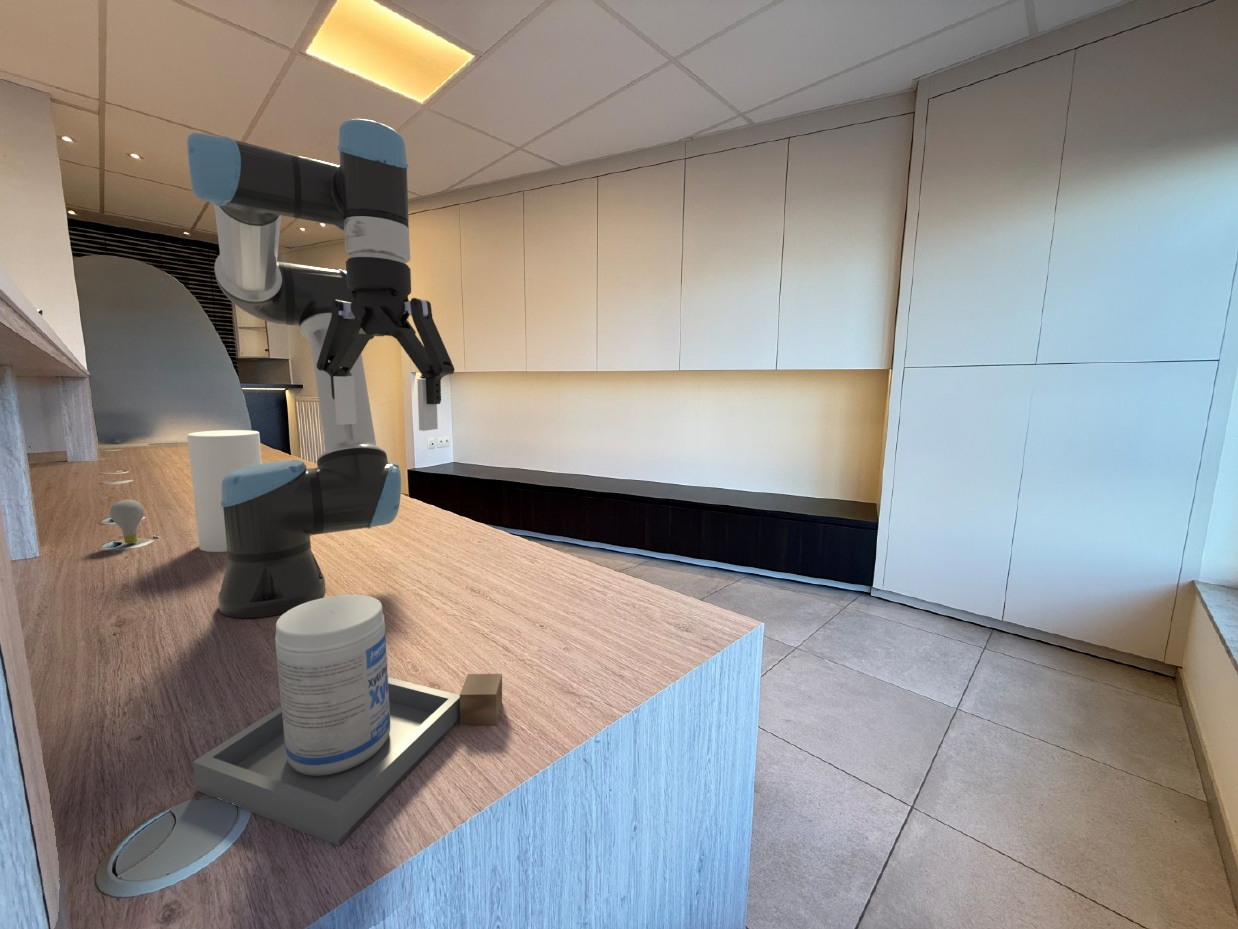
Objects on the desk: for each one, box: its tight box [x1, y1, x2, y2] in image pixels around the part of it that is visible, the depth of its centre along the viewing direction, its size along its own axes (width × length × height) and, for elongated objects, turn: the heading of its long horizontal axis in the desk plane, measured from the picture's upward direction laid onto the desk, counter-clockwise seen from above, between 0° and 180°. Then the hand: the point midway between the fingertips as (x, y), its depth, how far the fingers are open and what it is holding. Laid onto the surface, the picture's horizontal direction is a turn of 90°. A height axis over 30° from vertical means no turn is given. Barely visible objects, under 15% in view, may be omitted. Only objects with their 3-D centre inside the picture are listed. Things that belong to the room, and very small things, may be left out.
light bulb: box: [109, 499, 145, 545], centre depth 111 cm, size 6×6×10 cm
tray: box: [192, 676, 460, 847], centre depth 52 cm, size 17×17×3 cm
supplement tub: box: [274, 594, 390, 776], centre depth 51 cm, size 10×10×15 cm
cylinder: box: [186, 429, 263, 553], centre depth 113 cm, size 12×12×25 cm
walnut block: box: [459, 673, 503, 727], centre depth 59 cm, size 4×4×4 cm
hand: (386, 427), depth 68 cm, fingers open, 13 cm apart
